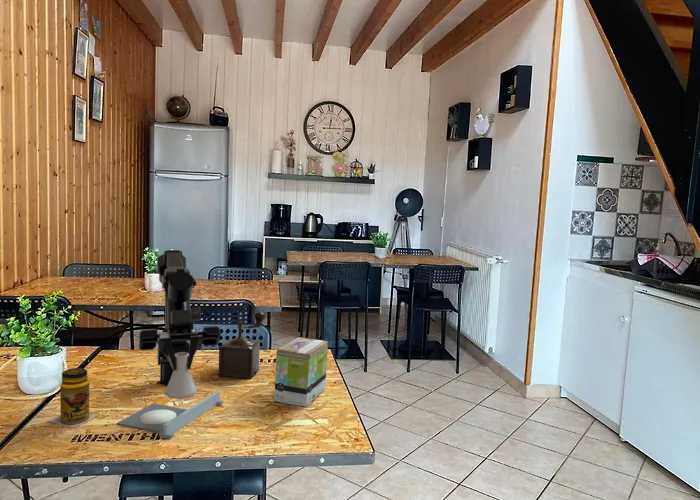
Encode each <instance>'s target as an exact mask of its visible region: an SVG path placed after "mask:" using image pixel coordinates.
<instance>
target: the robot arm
mask: <svg viewBox="0 0 700 500" xmlns="http://www.w3.org/2000/svg"><path fill="white" fill-rule="evenodd" d="M156 274H157V275H158V281H159V282H160V283H161V288H162V289H164V308H165V309H164V311H165V313H164V316H165V318H164V319H165V323H164V324H165V329H164V330H163V331H162V332H158V328H147V329H146V328H143V329H141V330H140V331H139V339H138V342H139V343H138V345H139V346H138V349H139V350H140V351H147V350H148V351H149V350H151V351H152V350H154V349H155V348H157V353H156V354H157V355H156V356H157V357H156V359H157V365H158V366H160V369H159V370H160V371H159V373H160V374H159V375H160V376H159V378H160V379H159V380H157V381H156V384H157V385H161V386H166V387H167V386H168V383H169V381H170V379H171V376H172V373H173V371H175V370H176V363H175V362H176V357H175V356H174V354H176V353H178V352H187V353H189V356H188V369H189V370H191V367H192V364H193V361H194V358H195V355H196V352H197V351H198V350H201V349H202V347H203V346H205V347H210V346H213V347H214V346H217V345H219V342H220V339H221V328H220V327H219V326H218V325H204V326H203V328H202V331H193V329H194V322H200V321H201V316H202V315H201V312H202V311H201V307H200V306H193V307H191V298H192V293H193V289H194V288H195V287H196V286H197V280H196V279H195V278H194V277H193V274H191V272H190V270H189V268H187V258H186V257H185V256H184V254H183V250H180V249H166V250H164V251H163V254H161V255H159V256H158V257H157V258H156Z"/></svg>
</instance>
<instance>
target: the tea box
mask: <svg viewBox="0 0 700 500" xmlns="http://www.w3.org/2000/svg"><path fill="white" fill-rule="evenodd" d="M328 347H329V341H327V340H322V339H320V340H319V339H313V338H307V337H299V336H298V337H296V338H294V339H292V340H291V341H288V342H287V343H285V344H283V345H282V346H279V348H277V349H276V357H275V358H276V360H275V361H276V362H275V373H274V374H275V376H274V393H273V401H274V402H278V403H282V404H289V405H293V406H299V407H307V406H308V405H309V404H310V403H311V402H313V400H315V398H317V397H318V396H319V395H320V394H321V393H322V392H324V390H325V389H326V383H327V382H326V381H327V366H328V365H327V364H328V352H329V351H328V349H329V348H328ZM325 391H326V390H325Z"/></svg>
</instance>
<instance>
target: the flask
mask: <svg viewBox="0 0 700 500" xmlns="http://www.w3.org/2000/svg"><path fill="white" fill-rule="evenodd" d="M174 356H175V357H176V362H175V363H176V370H175V371H173V373H172V376H171V379H170V381H169V383H168V386H167V385H166V388H165V391H164V395H165V396H166V397H168V398H169V399H177V400H183V399H188V398H191V397H194V396H195V395H196V394H197V393H198V389H197V387H196V384H195V382H194V379H193V377H192V374H191V371H190V370H191V369H188V356H189V353H187V352H178V353H176V354H174Z"/></svg>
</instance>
